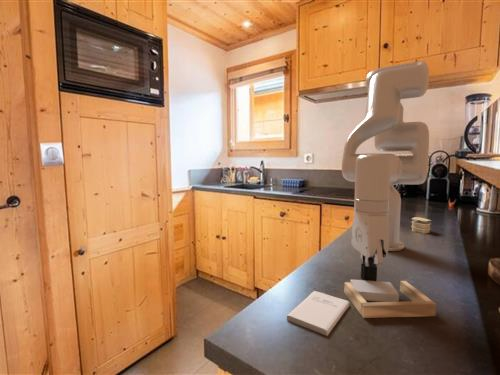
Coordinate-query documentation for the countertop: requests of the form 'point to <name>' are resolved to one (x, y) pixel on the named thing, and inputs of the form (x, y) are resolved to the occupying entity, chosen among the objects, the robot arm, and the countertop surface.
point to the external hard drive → (319, 312)
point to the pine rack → (393, 303)
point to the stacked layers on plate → (420, 225)
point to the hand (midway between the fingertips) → (368, 280)
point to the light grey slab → (376, 290)
